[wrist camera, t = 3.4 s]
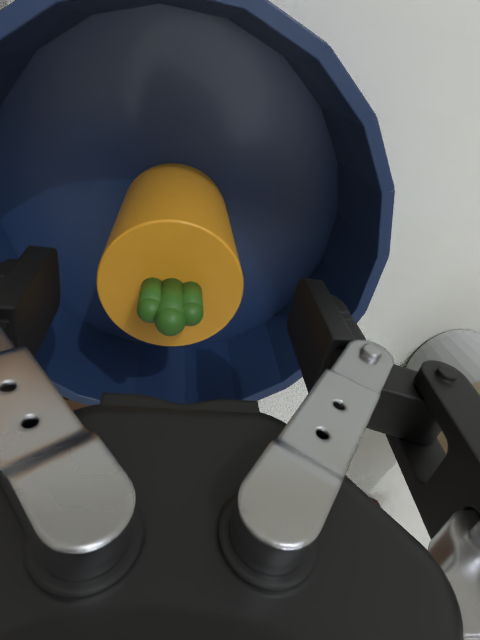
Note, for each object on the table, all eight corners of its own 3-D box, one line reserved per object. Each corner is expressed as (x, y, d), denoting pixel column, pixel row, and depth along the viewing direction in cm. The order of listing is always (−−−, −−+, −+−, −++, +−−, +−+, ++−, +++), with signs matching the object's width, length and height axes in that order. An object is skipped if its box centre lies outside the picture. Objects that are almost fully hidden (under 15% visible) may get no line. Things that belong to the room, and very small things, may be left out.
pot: (10, 337, 22) (-33, 410, 18) (-56, -65, 13) (-176, -119, 9) (296, 357, 25) (320, 423, 21) (398, 43, 16) (477, 44, 12)
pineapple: (122, 255, 20) (83, 387, 12) (124, 154, 17) (77, 241, 10) (218, 266, 21) (237, 394, 13) (234, 171, 18) (269, 263, 11)
